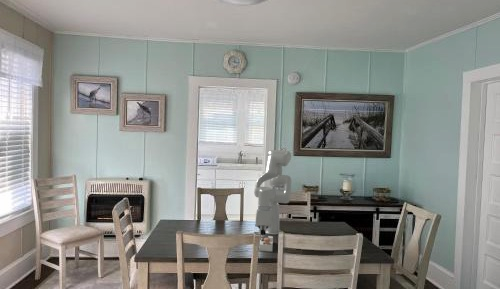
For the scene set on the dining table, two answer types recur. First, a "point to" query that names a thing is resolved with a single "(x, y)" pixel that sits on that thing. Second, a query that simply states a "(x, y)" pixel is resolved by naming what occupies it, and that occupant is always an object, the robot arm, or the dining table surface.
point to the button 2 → (267, 241)
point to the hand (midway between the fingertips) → (262, 235)
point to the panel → (266, 247)
